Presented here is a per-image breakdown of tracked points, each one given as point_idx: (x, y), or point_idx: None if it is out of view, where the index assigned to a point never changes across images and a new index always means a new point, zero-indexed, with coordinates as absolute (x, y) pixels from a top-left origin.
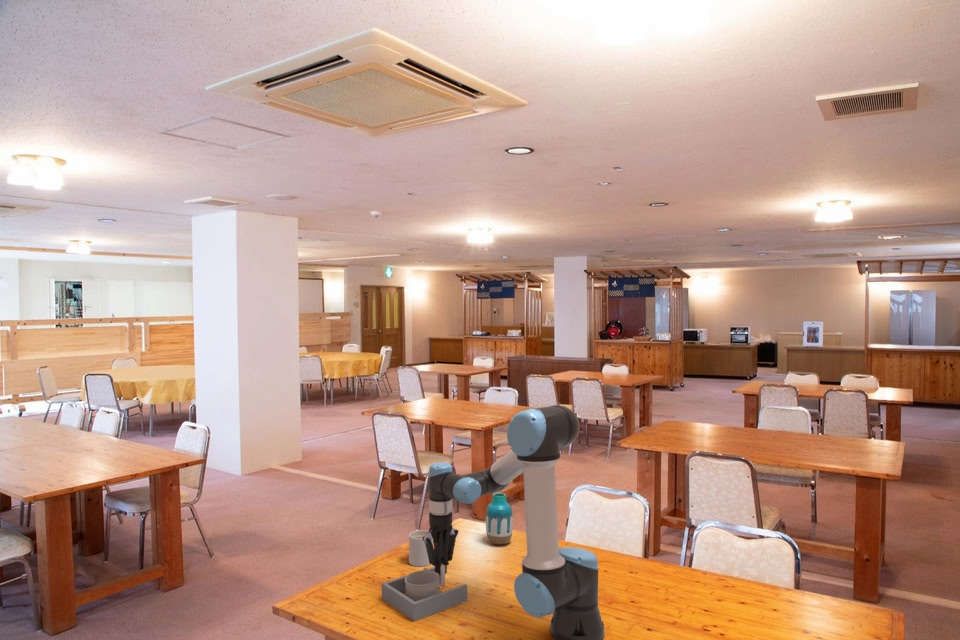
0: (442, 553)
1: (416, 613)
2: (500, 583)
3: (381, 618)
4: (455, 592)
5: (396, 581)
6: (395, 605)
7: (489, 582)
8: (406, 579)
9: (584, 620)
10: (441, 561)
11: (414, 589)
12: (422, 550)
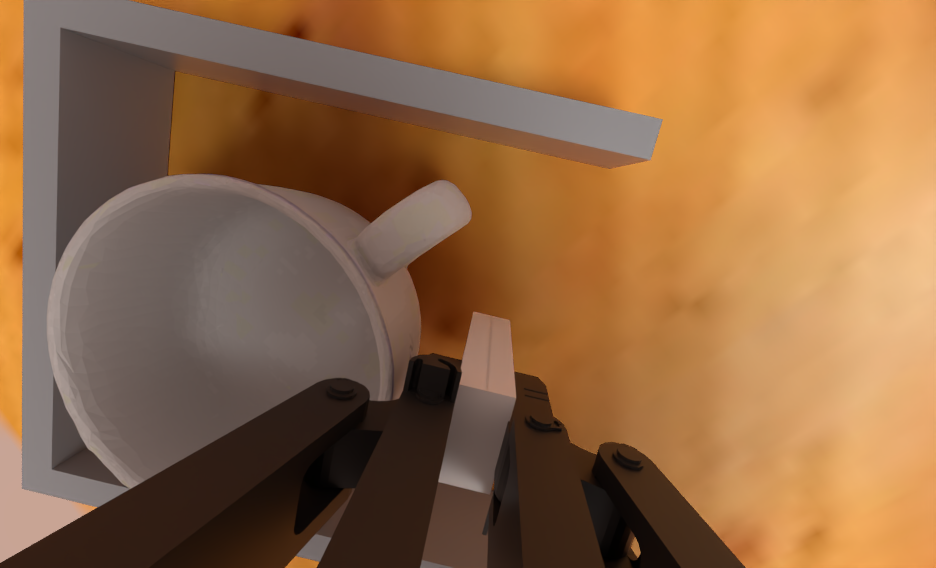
0: (501, 562)
1: None
2: (859, 546)
3: (5, 247)
4: None
5: (174, 55)
6: None
7: (835, 482)
8: (127, 216)
9: None
10: (506, 441)
11: (107, 383)
12: None
